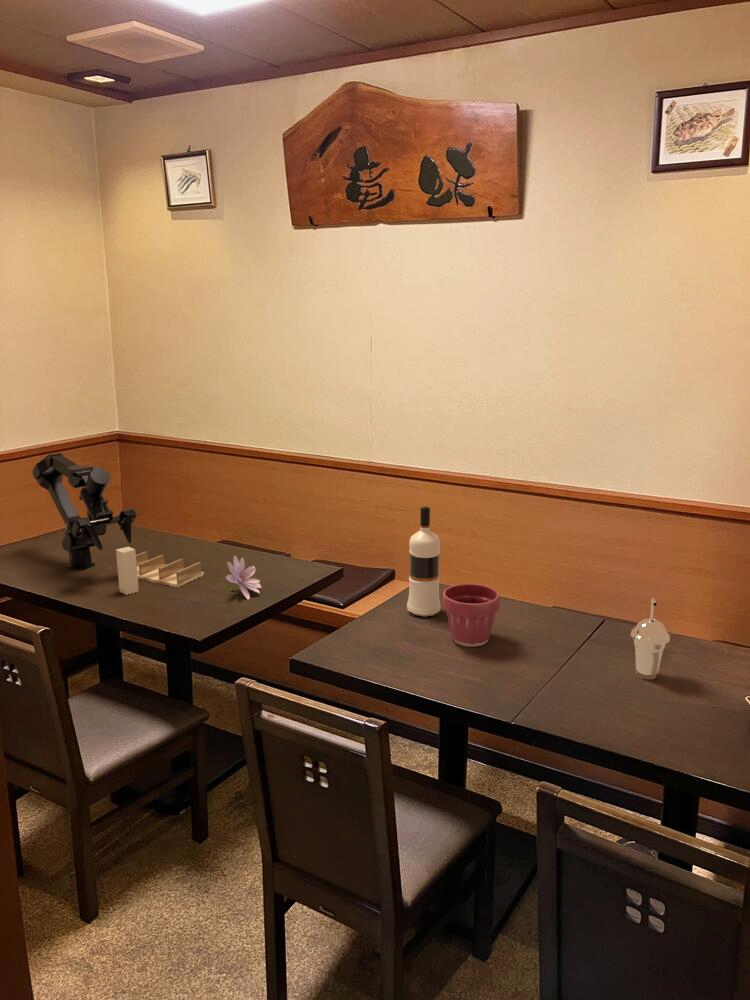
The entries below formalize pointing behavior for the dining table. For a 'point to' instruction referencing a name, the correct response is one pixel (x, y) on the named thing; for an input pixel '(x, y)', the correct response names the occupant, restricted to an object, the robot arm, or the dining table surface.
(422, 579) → the vodka
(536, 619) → the dining table surface
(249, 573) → the water lily
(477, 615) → the plant pot
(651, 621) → the cup with straw
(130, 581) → the clay bar
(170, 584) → the drying rack
